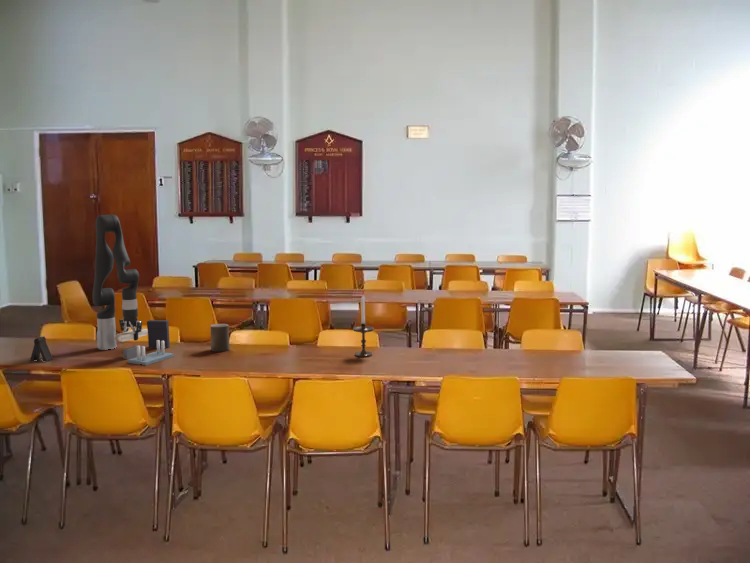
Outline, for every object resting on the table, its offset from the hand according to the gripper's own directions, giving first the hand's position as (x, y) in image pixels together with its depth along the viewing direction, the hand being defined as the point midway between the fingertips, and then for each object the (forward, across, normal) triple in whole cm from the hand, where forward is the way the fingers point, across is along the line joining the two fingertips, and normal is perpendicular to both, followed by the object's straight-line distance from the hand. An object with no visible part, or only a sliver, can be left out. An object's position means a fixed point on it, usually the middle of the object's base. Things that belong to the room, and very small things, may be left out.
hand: (131, 339), depth 380 cm
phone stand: (+10, -38, -25) cm, 46 cm away
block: (+9, 0, 0) cm, 9 cm away
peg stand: (+9, +13, 0) cm, 16 cm away
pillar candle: (+9, +32, +32) cm, 46 cm away
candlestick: (+8, +108, +54) cm, 121 cm away
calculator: (+10, -3, +23) cm, 25 cm away
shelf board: (-1, 0, 0) cm, 1 cm away
